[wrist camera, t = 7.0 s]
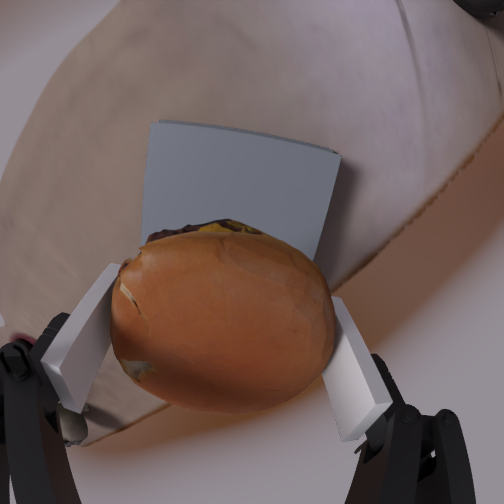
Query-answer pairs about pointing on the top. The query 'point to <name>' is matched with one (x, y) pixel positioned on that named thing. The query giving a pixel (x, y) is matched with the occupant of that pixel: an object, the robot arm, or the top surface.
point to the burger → (221, 318)
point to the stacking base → (237, 181)
